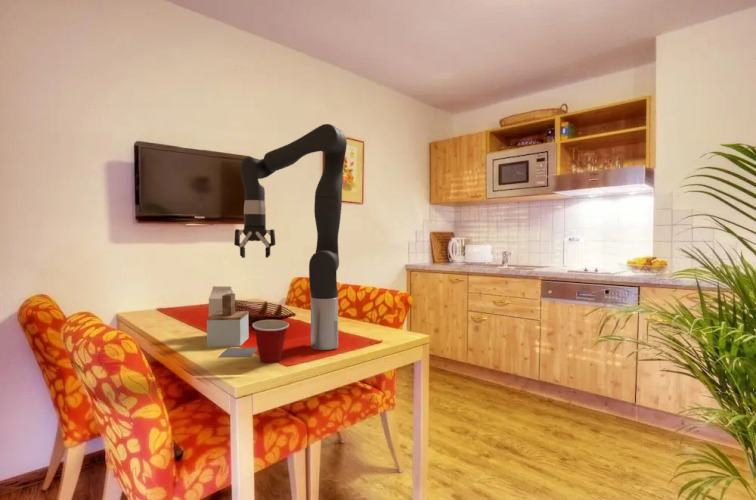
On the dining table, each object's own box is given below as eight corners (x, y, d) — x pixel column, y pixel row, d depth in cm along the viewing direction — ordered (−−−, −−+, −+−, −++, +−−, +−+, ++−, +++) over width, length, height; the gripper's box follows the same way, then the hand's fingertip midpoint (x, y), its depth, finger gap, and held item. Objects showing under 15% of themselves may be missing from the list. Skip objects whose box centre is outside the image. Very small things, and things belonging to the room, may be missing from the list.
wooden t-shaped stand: (248, 313, 146) (248, 292, 146) (240, 319, 135) (240, 297, 135) (218, 313, 145) (217, 292, 145) (207, 320, 134) (207, 297, 134)
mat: (258, 349, 133) (258, 347, 133) (250, 358, 123) (250, 356, 123) (227, 349, 132) (227, 348, 132) (217, 359, 122) (217, 357, 122)
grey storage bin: (248, 339, 146) (248, 313, 145) (240, 347, 135) (240, 320, 134) (217, 339, 145) (217, 313, 145) (207, 348, 134) (206, 320, 134)
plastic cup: (265, 371, 112) (265, 329, 111) (245, 363, 119) (244, 323, 118) (296, 361, 120) (296, 322, 120) (275, 354, 127) (275, 317, 127)
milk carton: (228, 338, 146) (227, 287, 145) (209, 338, 146) (208, 287, 146) (235, 334, 153) (234, 285, 153) (217, 334, 153) (216, 285, 153)
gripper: (276, 214, 149) (276, 257, 150) (237, 213, 148) (238, 257, 149) (272, 213, 142) (272, 258, 142) (231, 212, 141) (232, 258, 141)
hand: (255, 257), depth 145 cm, fingers open, 8 cm apart
